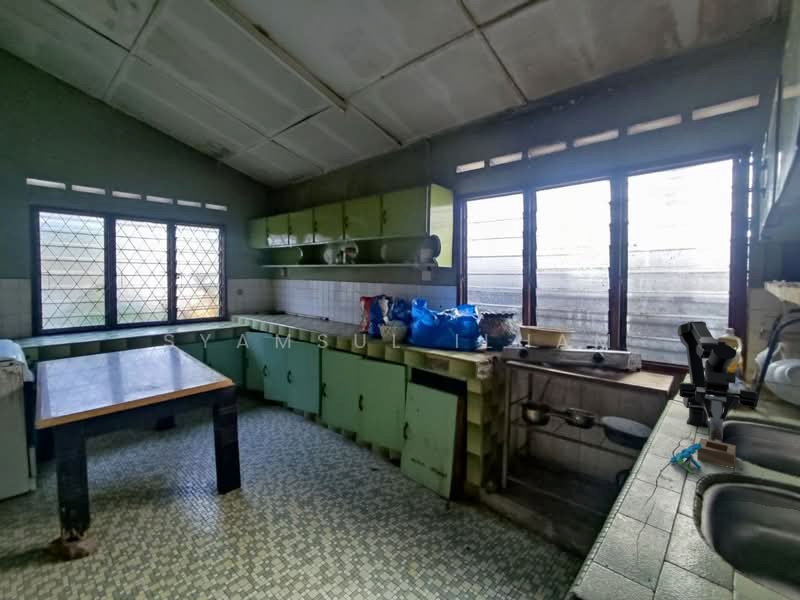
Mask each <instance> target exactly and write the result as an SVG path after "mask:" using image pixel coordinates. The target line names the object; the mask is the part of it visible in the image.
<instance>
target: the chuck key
mask: <svg viewBox="0 0 800 600" xmlns="http://www.w3.org/2000/svg"><path fill="white" fill-rule="evenodd" d="M705 398H706V399H710V418H709V421H710V425H709V437H710V438H711V439H713V440H715V441H723V440H724V439H723V435H724V420H723V412H724V403H725V402H726V397H720V396H713V395H705Z"/></svg>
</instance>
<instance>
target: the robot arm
mask: <svg viewBox="0 0 800 600" xmlns="http://www.w3.org/2000/svg"><path fill="white" fill-rule="evenodd" d="M677 336H678V337H679V341H680V343H681V344H682V345H683V346H684V347H685V349H686V356H687V365H688V373H689V379H690V382H684V381H681V382H680V383H678V392H679V397H681V398H682V403H683V406H684V407H685V408H686V409H688V418H687V420H686V424H689V425H693V426H699V427H702V428H710V420H709V419H710V399H706V398H705V395H713V396H720V397H726V402H724V405H723V421H725V420H726V418H727V417H728V415H729V413H730V412H731V411H732V409H734V408H738V407H739V404H740V406H742V407H746V408H758V402H759V394H758V392H757V391H755V390H750V389H749V390H748V389H741V388H740V389H739V393H737V392H729V390H730V384H733V385H735V384H736V381H737V380H736V372H730V371H729V367H731V365H732V364H733V362H734V360H735V358H736V357H737V353H738V352H737V350H736V349H735V348H734V347H732V346H731V345H728V344H727V343H726V341H722V340H720V339H717V338H715V337H714V336H713V334H712V333H711V332H710V330H709V328H708V327H707V323H706V321H703V320H690V321H687V323H683V324H680V325H679V326H678V328H677ZM703 359H706V360H705V362H704V363H703V361H704V360H703Z"/></svg>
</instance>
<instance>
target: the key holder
mask: <svg viewBox="0 0 800 600" xmlns="http://www.w3.org/2000/svg"><path fill="white" fill-rule="evenodd" d="M698 443H700V444H701V445H702V446H701V448H700V449H699V450H696V453H697V456H696V457H697V460H699V461H703V462H706V463H710V464H714V465H719V466H721V465H723V466H722V467H725V466H728V467H727V468H729V467H733V468H734V469H735V464H736V458H737V457H736V454H737V453H736V452H737V451H736V449H737V447H736V445H734V444H731V443H726V442H722V441H718V440H711V439H707V438H703V437H701V438H700V439H699V442H698ZM733 468H732V469H733Z"/></svg>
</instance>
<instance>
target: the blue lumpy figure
mask: <svg viewBox="0 0 800 600" xmlns="http://www.w3.org/2000/svg"><path fill="white" fill-rule="evenodd" d="M701 446H702V445H701V444H700V443H699V442H698V443H697V442H696V443H694V444H690V445H689V446H688V447H687V448H683V449H681V452H677V453H675V456H674V455H673V456H672V457H671V458H670V460H669V462H670V463H671V464H676V463H679V465H680V466H681V467H682V468H685V469H686V470H687V471H688V473H690V474H693V473H694V472H693V471H692V469H690V468H689V466H688V464H689V463H690V462H691V463H692V464H693V465H694V466H695V468H697V470H700V469H702V466H701V465H700V464H699V463H698V462H697V460H695V459H694V457H693V455H694V454H696V453H697V450H699V449H700V448H701ZM684 459H685V461H684Z"/></svg>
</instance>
